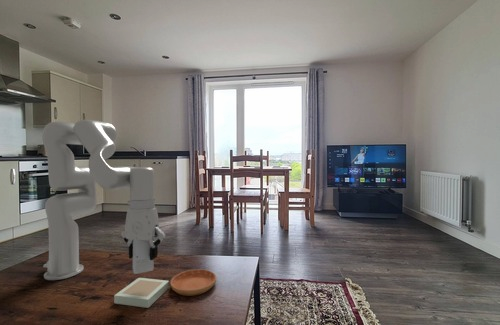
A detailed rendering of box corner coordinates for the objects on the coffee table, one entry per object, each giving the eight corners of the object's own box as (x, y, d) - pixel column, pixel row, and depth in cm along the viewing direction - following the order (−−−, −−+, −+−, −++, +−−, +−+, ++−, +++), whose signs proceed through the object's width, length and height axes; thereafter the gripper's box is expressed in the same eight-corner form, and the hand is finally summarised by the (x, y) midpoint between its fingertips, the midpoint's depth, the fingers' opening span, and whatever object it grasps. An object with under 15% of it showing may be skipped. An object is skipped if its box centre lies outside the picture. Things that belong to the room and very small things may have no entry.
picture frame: (114, 303, 77) (114, 295, 77) (138, 284, 89) (138, 277, 89) (148, 307, 75) (148, 299, 75) (169, 287, 87) (169, 280, 87)
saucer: (161, 289, 87) (161, 280, 87) (196, 272, 99) (196, 265, 99) (190, 305, 77) (190, 295, 77) (225, 284, 90) (225, 276, 90)
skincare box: (134, 275, 78) (134, 237, 78) (132, 269, 82) (131, 233, 82) (154, 270, 82) (154, 233, 82) (151, 265, 86) (151, 230, 86)
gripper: (111, 205, 80) (112, 260, 80) (159, 207, 76) (160, 264, 77) (127, 201, 87) (128, 251, 87) (172, 203, 84) (172, 255, 84)
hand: (143, 257), depth 82 cm, fingers closed on skincare box, 7 cm apart
